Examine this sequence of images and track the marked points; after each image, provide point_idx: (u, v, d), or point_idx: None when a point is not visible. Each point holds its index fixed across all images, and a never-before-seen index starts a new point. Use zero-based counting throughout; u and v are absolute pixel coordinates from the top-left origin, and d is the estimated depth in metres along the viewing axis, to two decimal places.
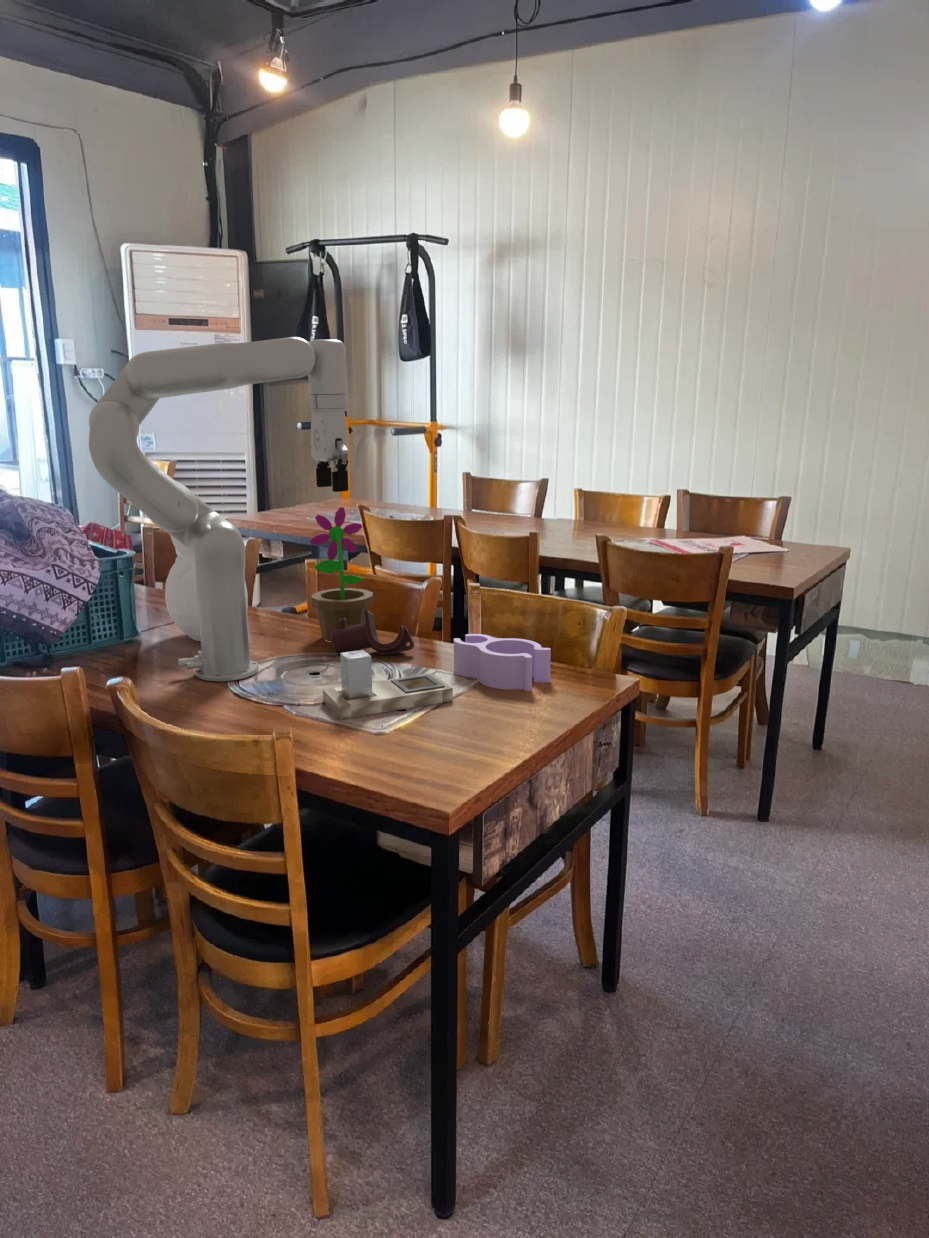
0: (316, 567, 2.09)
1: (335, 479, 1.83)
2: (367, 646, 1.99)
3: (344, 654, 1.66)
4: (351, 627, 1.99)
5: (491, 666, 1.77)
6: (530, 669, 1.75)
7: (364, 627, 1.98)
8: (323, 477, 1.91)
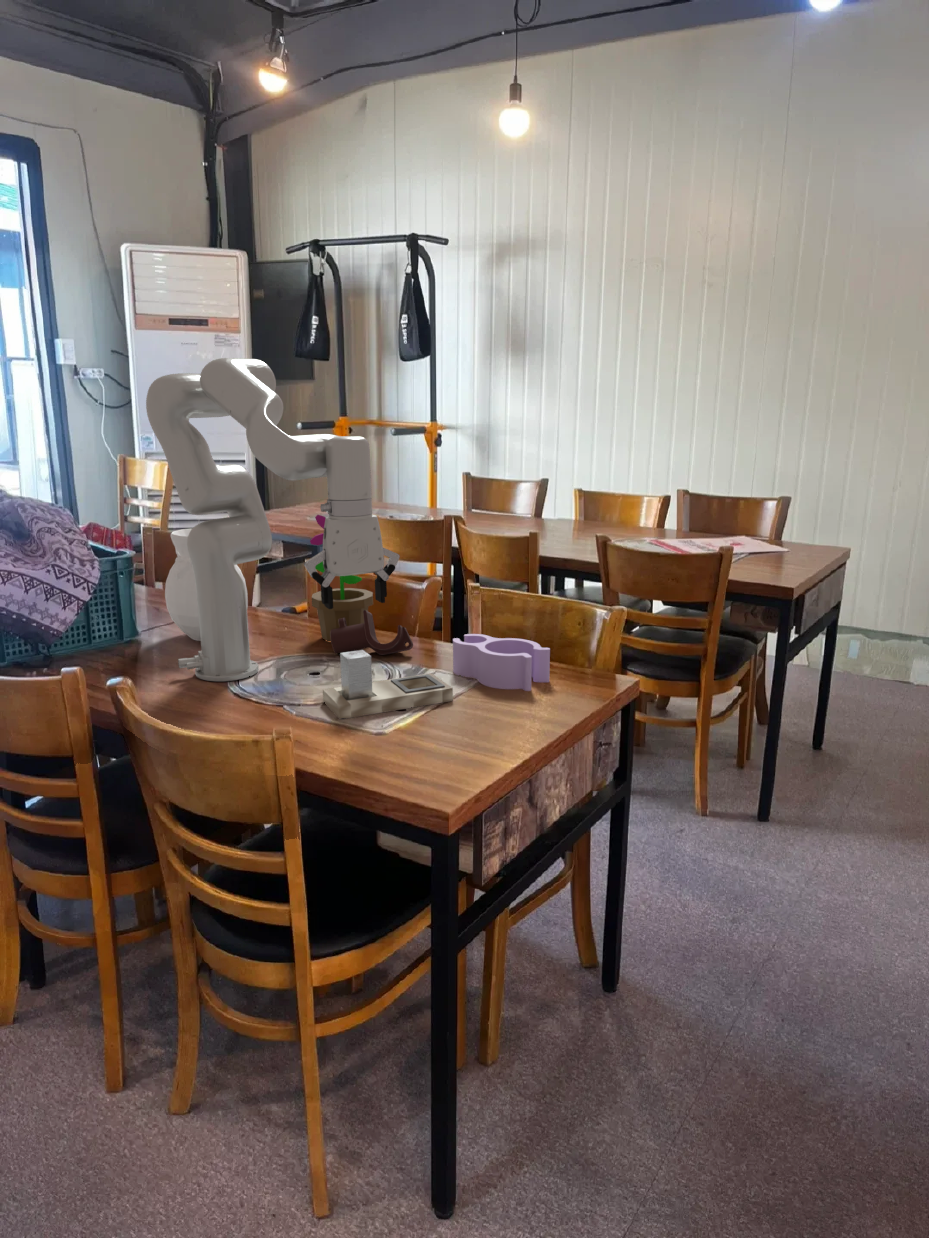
0: (316, 567, 2.09)
1: None
2: (366, 646, 1.99)
3: (344, 654, 1.66)
4: (350, 627, 1.99)
5: (491, 666, 1.77)
6: (529, 669, 1.75)
7: (363, 627, 1.98)
8: None
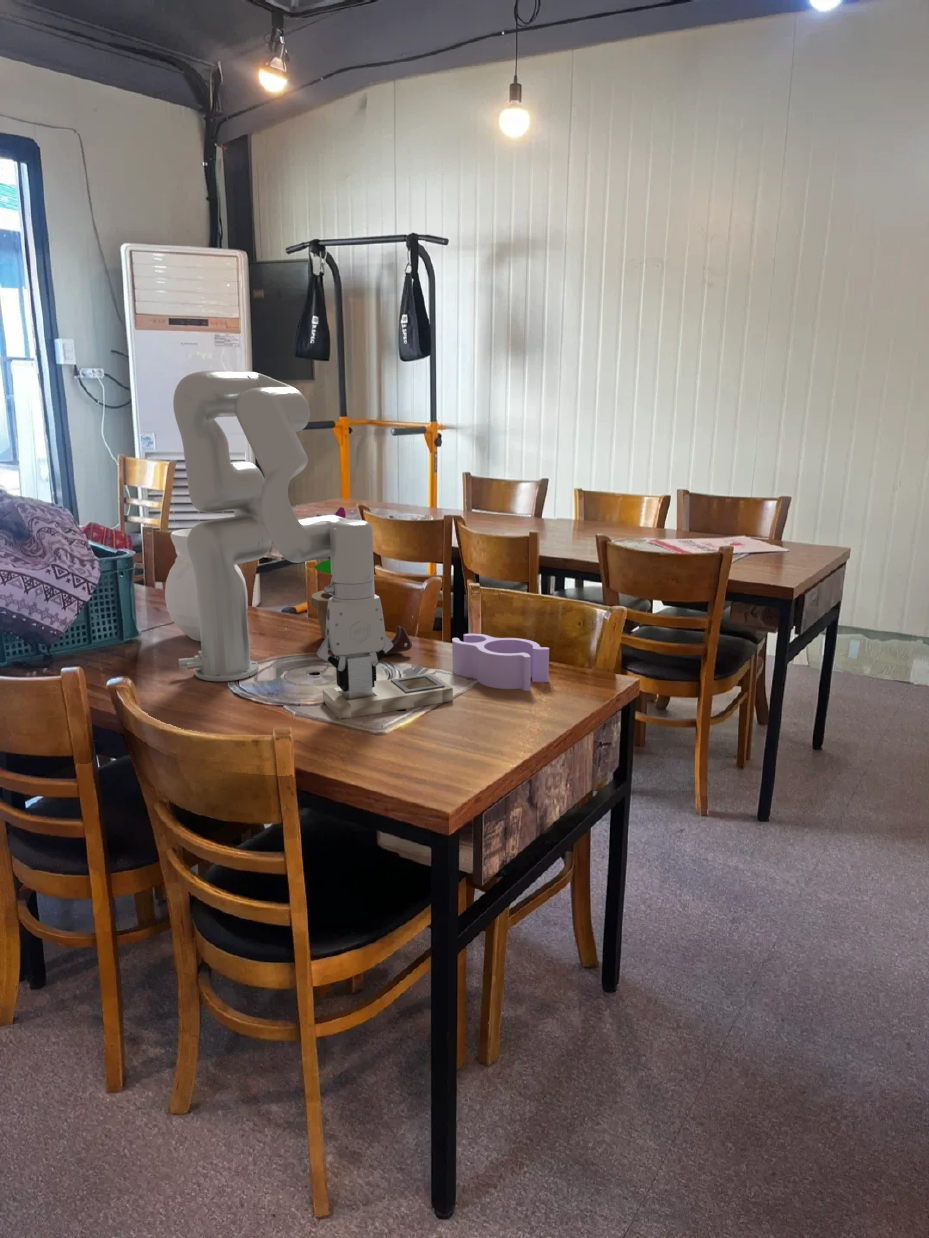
0: (316, 567, 2.09)
1: None
2: None
3: None
4: None
5: (490, 665, 1.77)
6: (529, 668, 1.75)
7: None
8: None
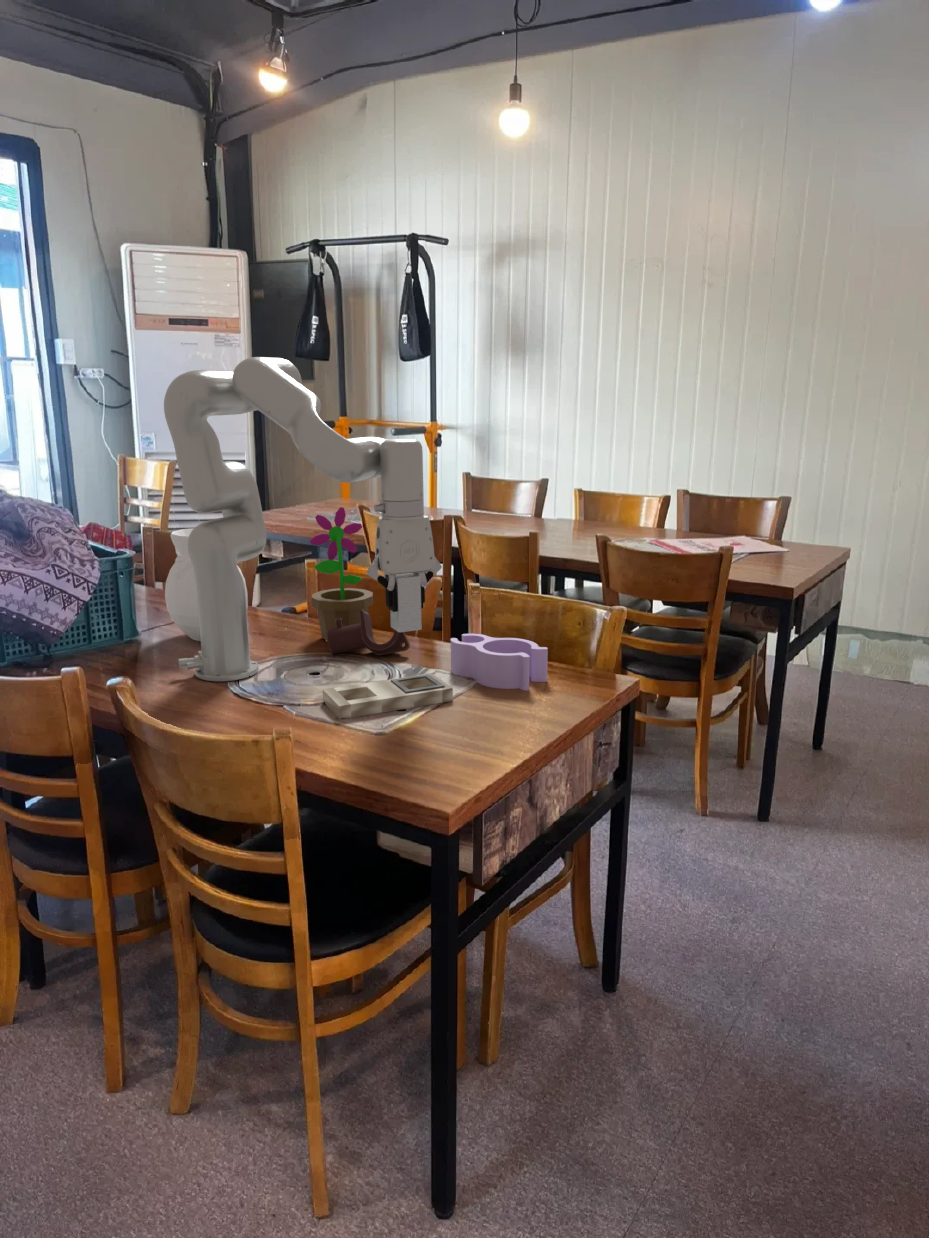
0: (316, 567, 2.09)
1: None
2: (362, 646, 1.99)
3: None
4: (347, 627, 1.99)
5: (489, 665, 1.78)
6: (527, 668, 1.75)
7: (359, 627, 1.98)
8: None
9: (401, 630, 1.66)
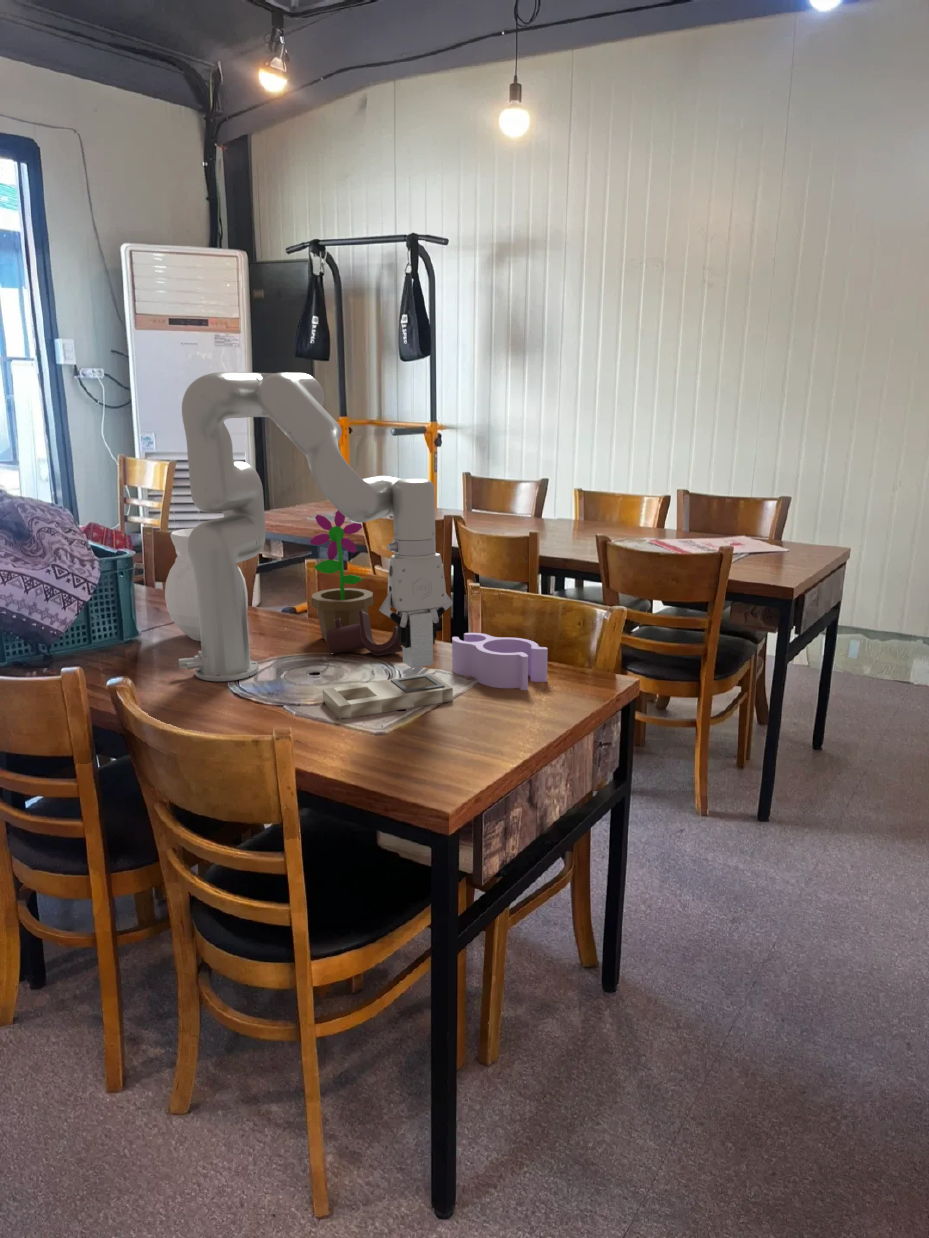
0: (316, 567, 2.09)
1: None
2: (361, 647, 1.99)
3: None
4: (346, 627, 1.99)
5: (488, 664, 1.78)
6: (526, 668, 1.76)
7: (358, 627, 1.98)
8: None
9: (413, 665, 1.69)
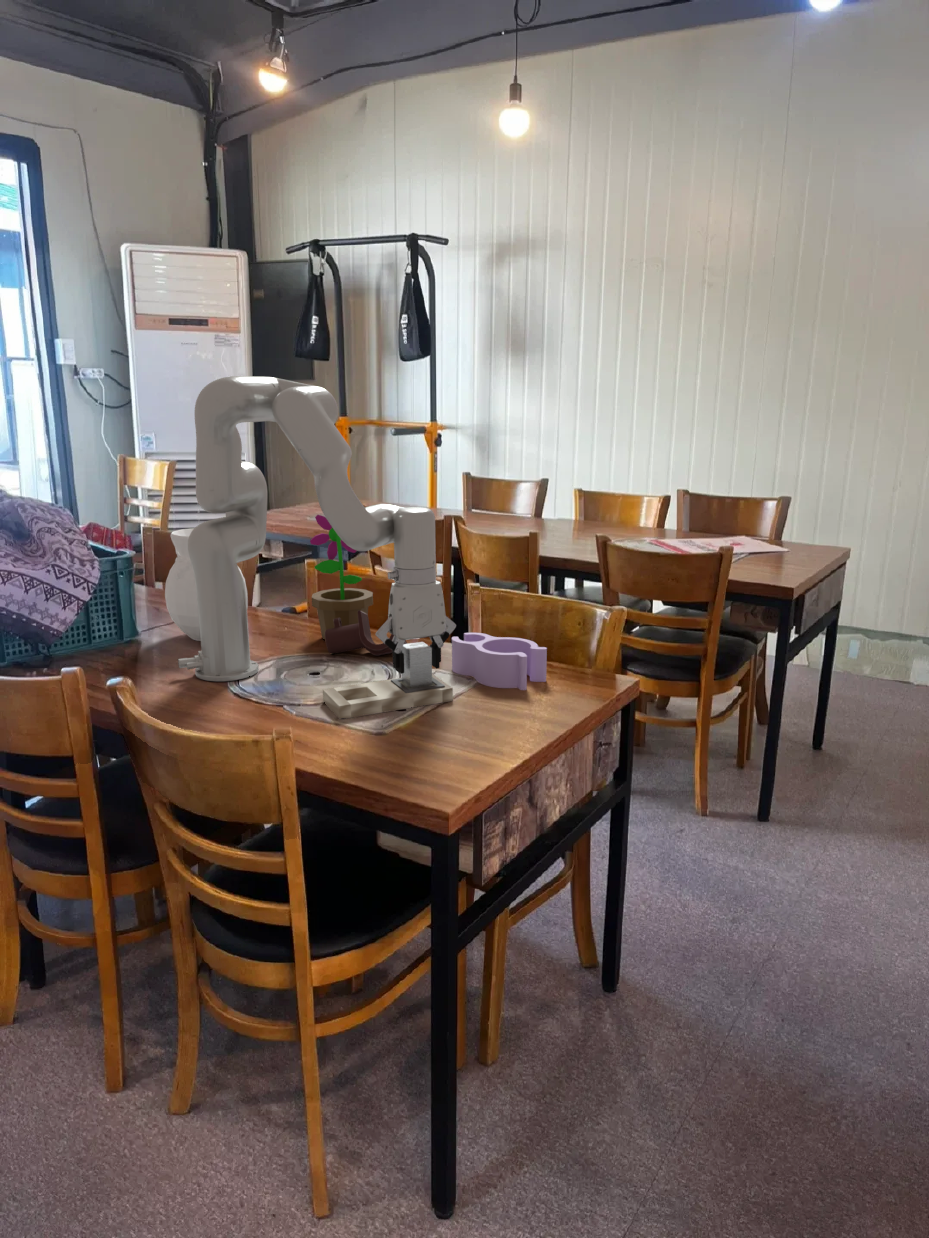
0: (316, 567, 2.09)
1: None
2: (360, 646, 1.99)
3: (405, 646, 1.71)
4: (344, 627, 1.99)
5: (487, 664, 1.78)
6: (525, 668, 1.76)
7: (357, 627, 1.98)
8: None
9: None
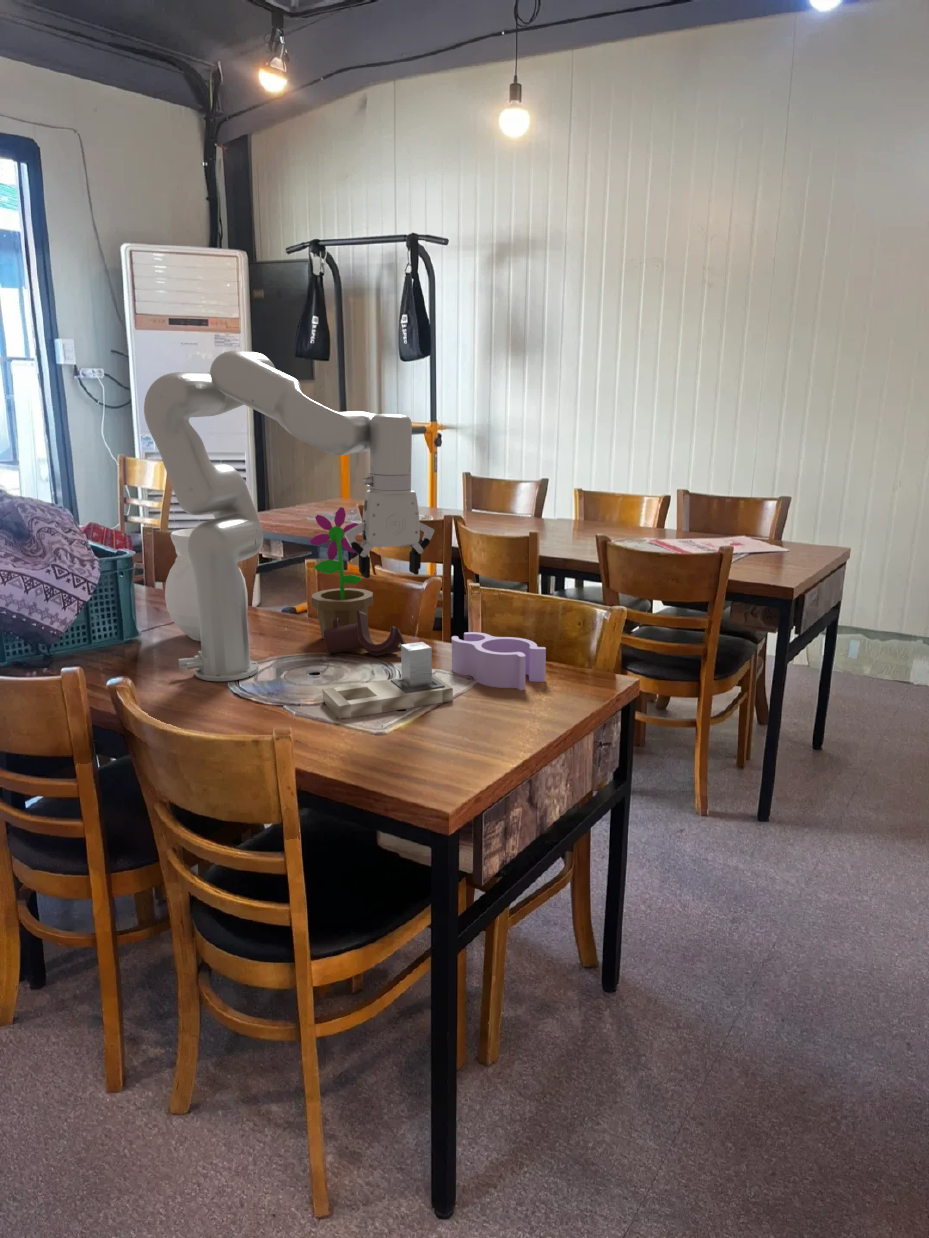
0: (316, 567, 2.09)
1: None
2: (359, 646, 1.99)
3: (405, 646, 1.71)
4: (343, 627, 1.99)
5: (485, 664, 1.78)
6: (523, 668, 1.76)
7: (356, 627, 1.98)
8: None
9: None
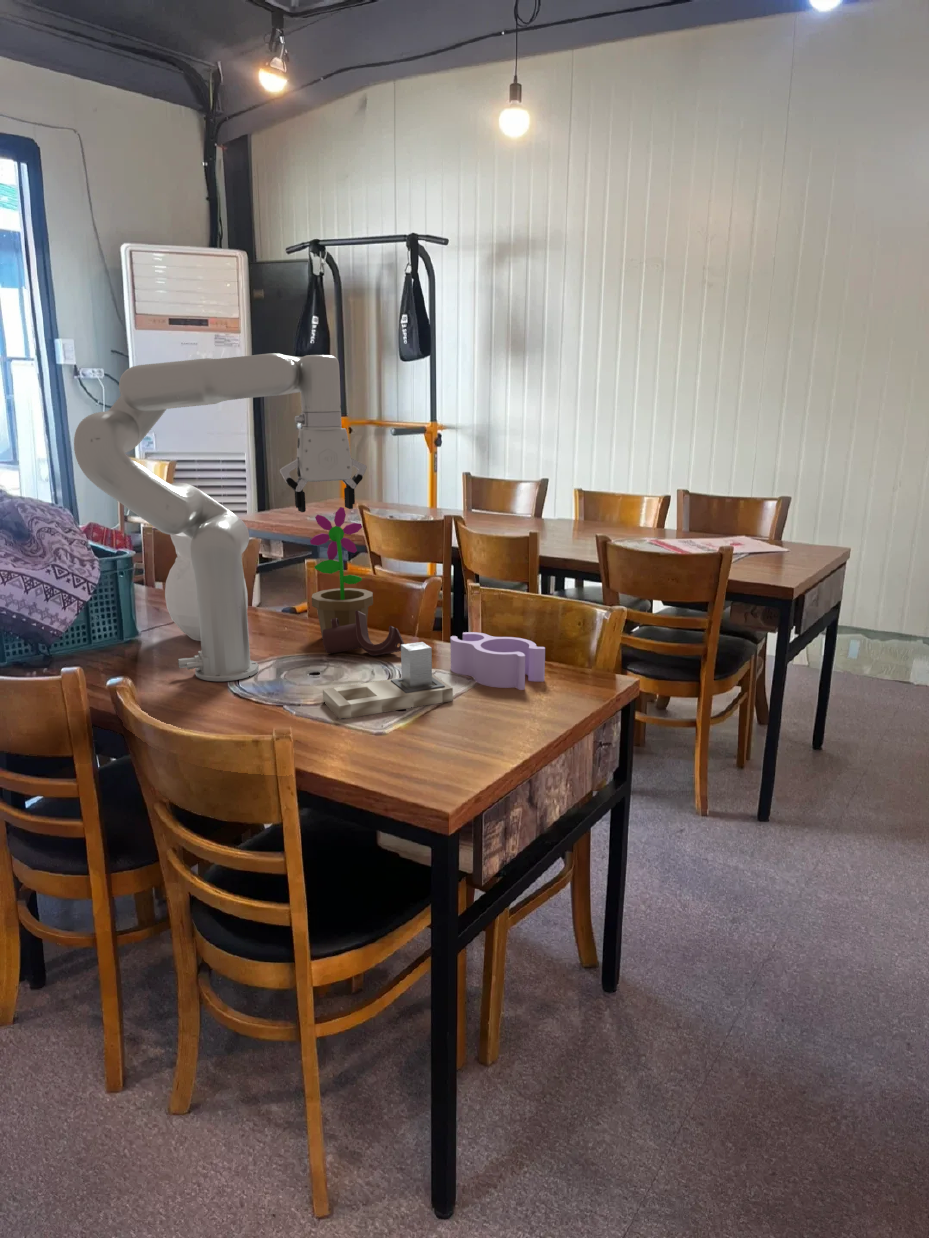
0: (316, 567, 2.09)
1: None
2: (357, 646, 1.99)
3: (405, 646, 1.71)
4: (342, 627, 1.99)
5: (485, 664, 1.78)
6: (523, 668, 1.76)
7: (355, 627, 1.98)
8: None
9: None
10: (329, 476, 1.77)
